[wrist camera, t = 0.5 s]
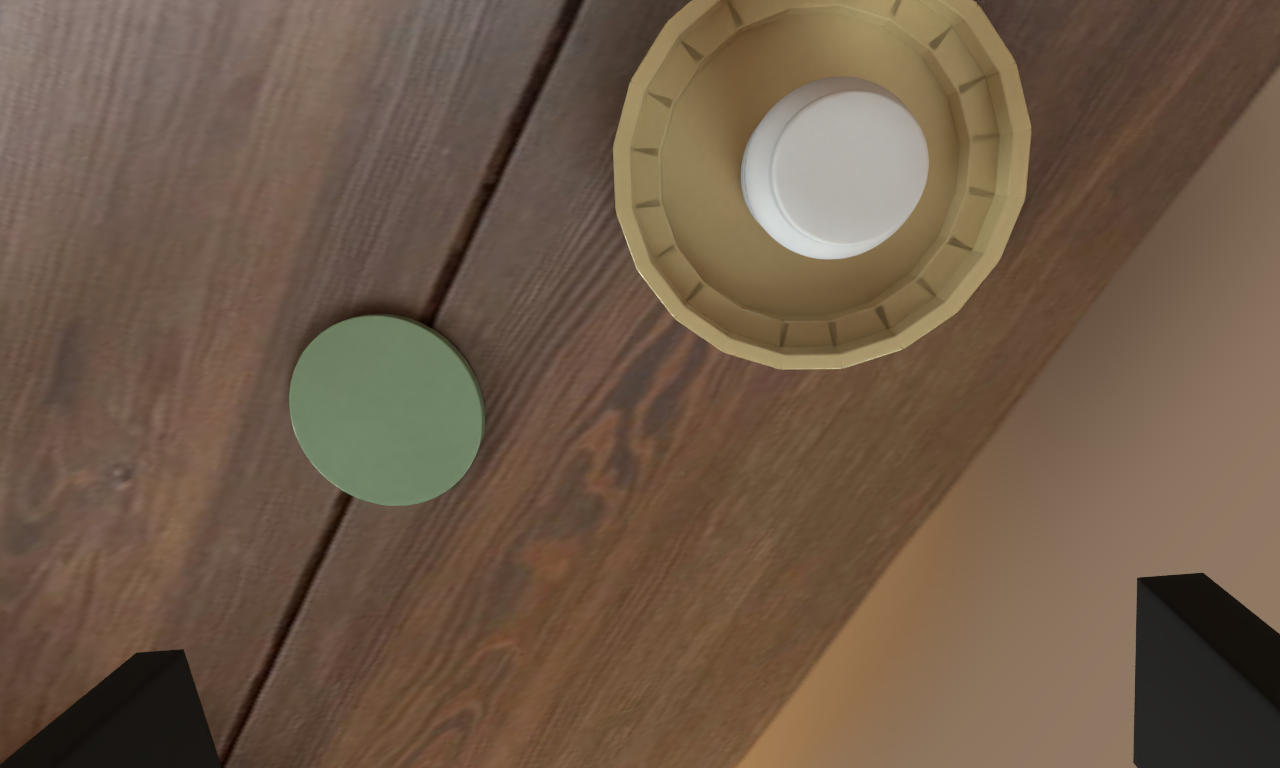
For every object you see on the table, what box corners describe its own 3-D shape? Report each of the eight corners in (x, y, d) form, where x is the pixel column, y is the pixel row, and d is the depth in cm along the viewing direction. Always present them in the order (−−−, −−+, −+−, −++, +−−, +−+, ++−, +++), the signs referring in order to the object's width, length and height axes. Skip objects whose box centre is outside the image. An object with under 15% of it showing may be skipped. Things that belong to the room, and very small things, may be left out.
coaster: (261, 350, 39) (254, 353, 38) (437, 285, 37) (433, 286, 36) (345, 524, 41) (340, 529, 40) (515, 469, 39) (512, 473, 39)
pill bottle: (894, 113, 33) (984, 81, 22) (856, 254, 34) (922, 289, 24) (755, 86, 33) (776, 41, 22) (724, 227, 35) (730, 250, 24)
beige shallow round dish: (570, 57, 34) (554, 44, 30) (943, -98, 31) (971, -131, 28) (692, 396, 37) (690, 418, 34) (1036, 284, 35) (1072, 296, 31)
